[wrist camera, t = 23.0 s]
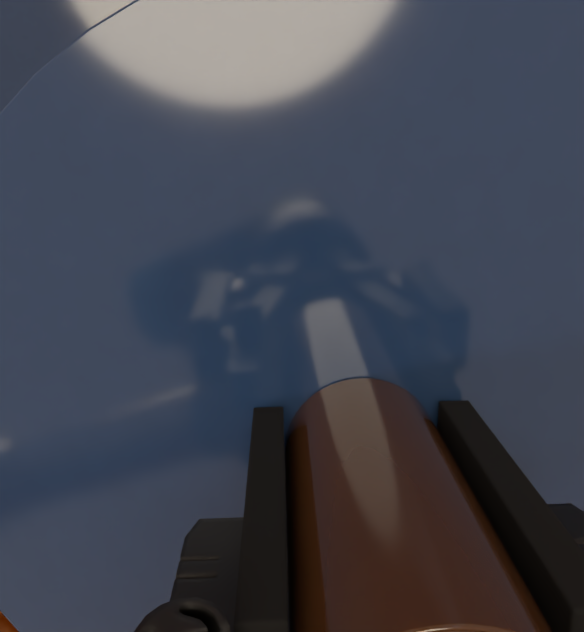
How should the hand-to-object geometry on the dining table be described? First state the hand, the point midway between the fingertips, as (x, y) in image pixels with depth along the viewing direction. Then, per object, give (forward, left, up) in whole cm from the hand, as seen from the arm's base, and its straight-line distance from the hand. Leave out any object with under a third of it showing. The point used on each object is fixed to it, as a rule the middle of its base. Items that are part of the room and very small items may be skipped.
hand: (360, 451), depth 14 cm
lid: (0, 0, -1) cm, 1 cm away
